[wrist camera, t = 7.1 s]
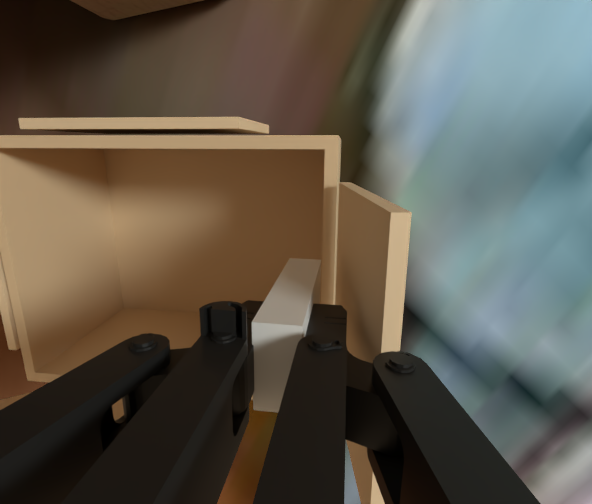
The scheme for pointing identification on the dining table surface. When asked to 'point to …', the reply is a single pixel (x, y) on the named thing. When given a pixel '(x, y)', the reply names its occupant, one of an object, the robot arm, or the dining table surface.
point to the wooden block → (128, 7)
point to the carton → (152, 228)
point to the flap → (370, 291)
